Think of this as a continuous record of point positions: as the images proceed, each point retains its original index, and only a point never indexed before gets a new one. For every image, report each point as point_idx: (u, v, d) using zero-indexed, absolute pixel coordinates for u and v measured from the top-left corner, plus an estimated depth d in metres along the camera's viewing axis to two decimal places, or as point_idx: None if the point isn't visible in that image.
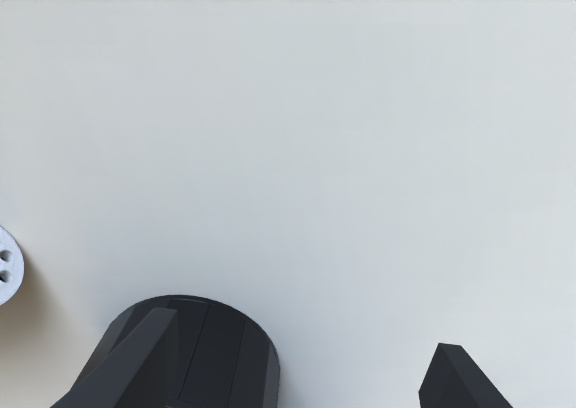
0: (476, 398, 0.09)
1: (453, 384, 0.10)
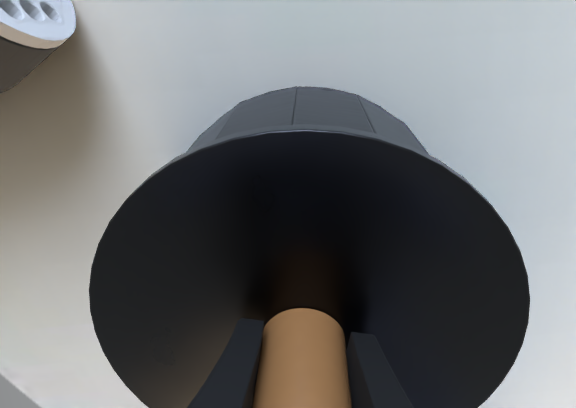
0: (369, 385, 0.09)
1: (356, 372, 0.10)
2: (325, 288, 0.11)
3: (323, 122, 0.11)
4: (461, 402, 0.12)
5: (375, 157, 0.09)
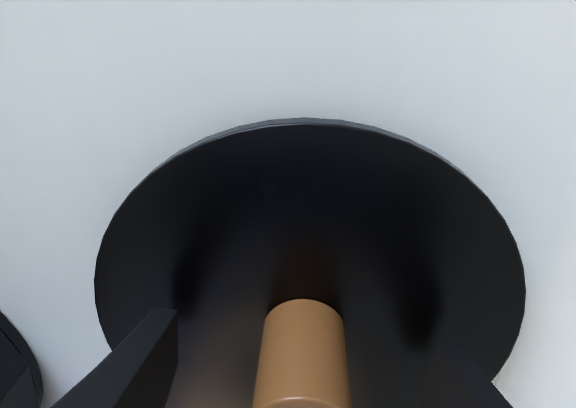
0: (476, 398, 0.09)
1: (453, 384, 0.10)
2: (325, 279, 0.11)
3: None
4: None
5: (374, 151, 0.09)
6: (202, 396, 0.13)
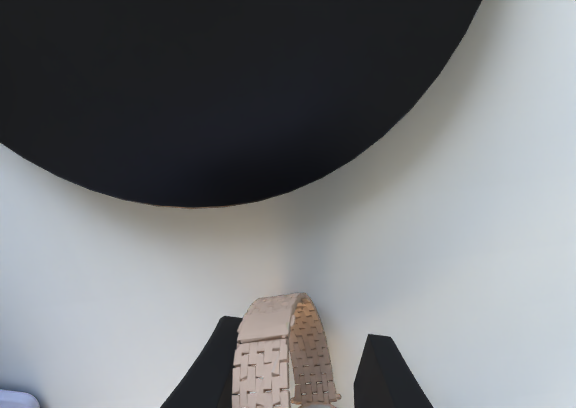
0: (390, 387, 0.09)
1: (375, 375, 0.10)
2: None
3: None
4: (423, 43, 0.08)
5: None
6: (13, 79, 0.08)
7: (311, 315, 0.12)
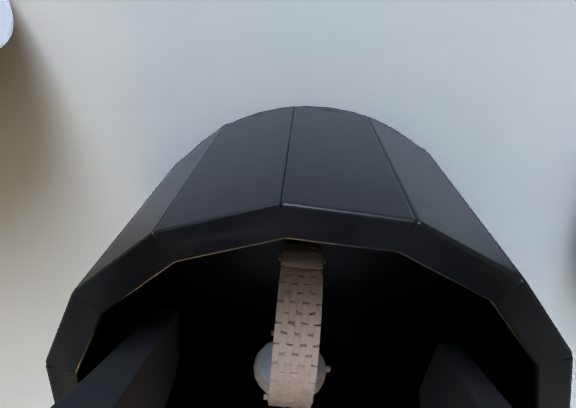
0: (476, 398, 0.09)
1: (452, 384, 0.10)
2: None
3: (328, 165, 0.08)
4: None
5: None
6: None
7: None
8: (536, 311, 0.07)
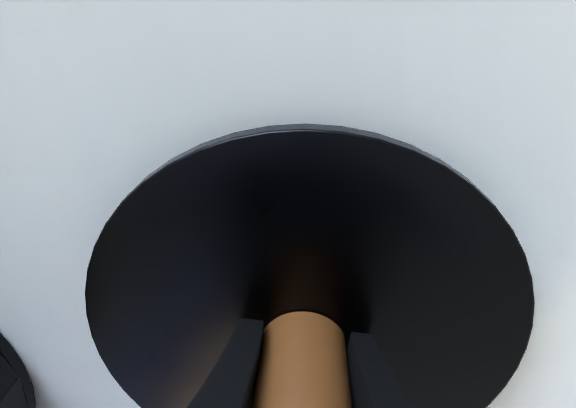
0: (369, 385, 0.09)
1: (356, 372, 0.10)
2: (325, 291, 0.10)
3: None
4: (464, 406, 0.12)
5: (377, 158, 0.09)
6: None
7: None
8: None
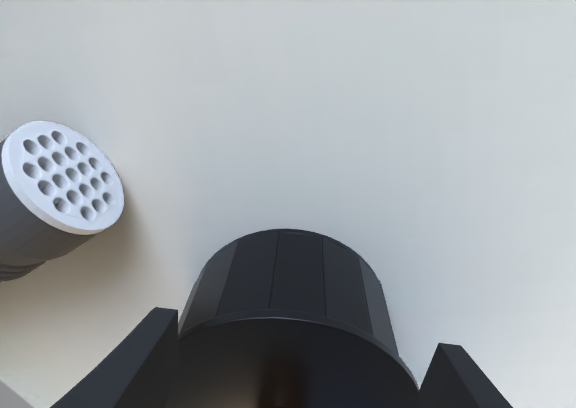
0: (476, 398, 0.09)
1: (453, 384, 0.10)
2: (292, 397, 0.16)
3: (291, 289, 0.17)
4: None
5: (318, 332, 0.15)
6: None
7: None
8: None
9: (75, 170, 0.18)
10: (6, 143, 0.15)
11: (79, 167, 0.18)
